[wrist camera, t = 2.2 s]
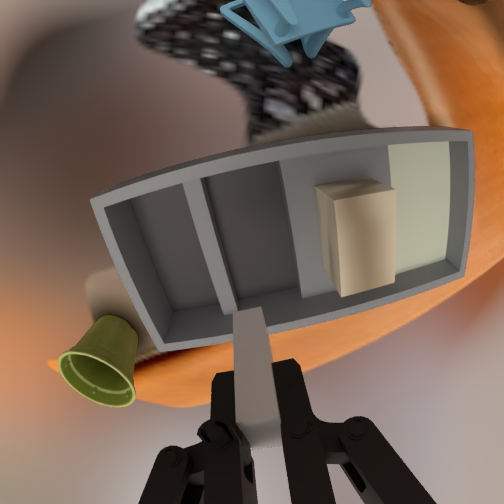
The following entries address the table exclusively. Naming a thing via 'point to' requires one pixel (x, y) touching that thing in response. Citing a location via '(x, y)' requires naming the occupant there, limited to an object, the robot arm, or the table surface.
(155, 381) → the table surface
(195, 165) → the tray
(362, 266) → the birch block
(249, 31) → the chair
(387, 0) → the table surface
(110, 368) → the plant pot
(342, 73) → the table surface
